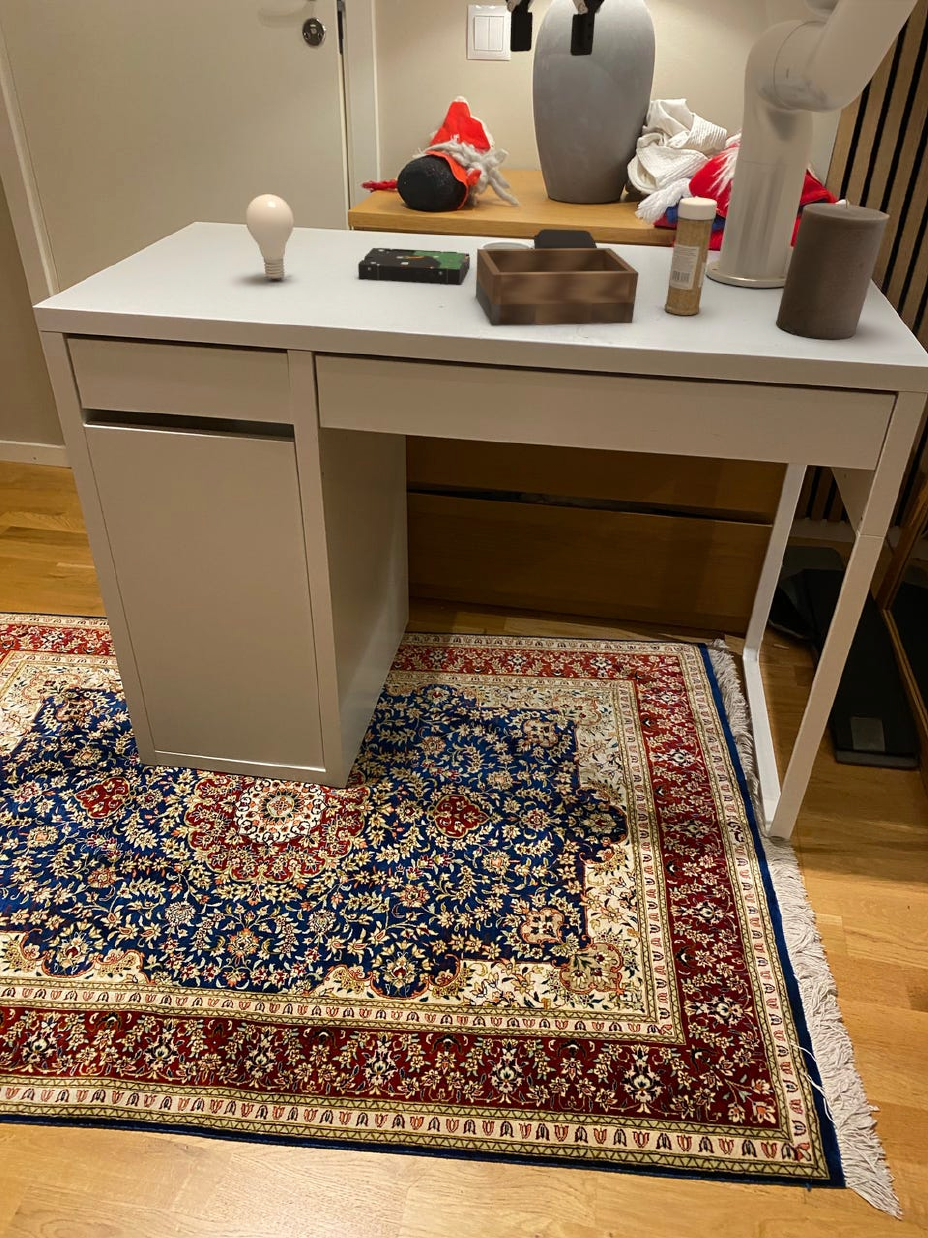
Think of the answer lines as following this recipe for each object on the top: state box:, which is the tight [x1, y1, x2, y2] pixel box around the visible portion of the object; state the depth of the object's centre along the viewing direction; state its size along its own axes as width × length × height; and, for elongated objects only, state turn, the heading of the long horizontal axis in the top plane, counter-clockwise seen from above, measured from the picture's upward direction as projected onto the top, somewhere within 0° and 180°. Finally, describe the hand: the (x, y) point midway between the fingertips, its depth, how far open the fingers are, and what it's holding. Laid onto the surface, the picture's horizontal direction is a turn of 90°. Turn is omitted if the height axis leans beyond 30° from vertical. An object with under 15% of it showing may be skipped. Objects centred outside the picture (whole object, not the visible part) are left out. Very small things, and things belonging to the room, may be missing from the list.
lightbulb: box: [245, 193, 295, 282], centre depth 122 cm, size 6×6×11 cm
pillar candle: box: [775, 198, 890, 340], centre depth 109 cm, size 10×10×15 cm
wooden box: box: [475, 247, 639, 326], centre depth 115 cm, size 18×13×6 cm
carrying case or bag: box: [529, 228, 598, 249], centre depth 141 cm, size 11×3×15 cm
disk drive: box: [357, 247, 471, 286], centre depth 130 cm, size 10×3×15 cm
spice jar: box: [664, 197, 718, 316], centre depth 114 cm, size 5×5×13 cm
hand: (550, 52), depth 107 cm, fingers open, 9 cm apart
